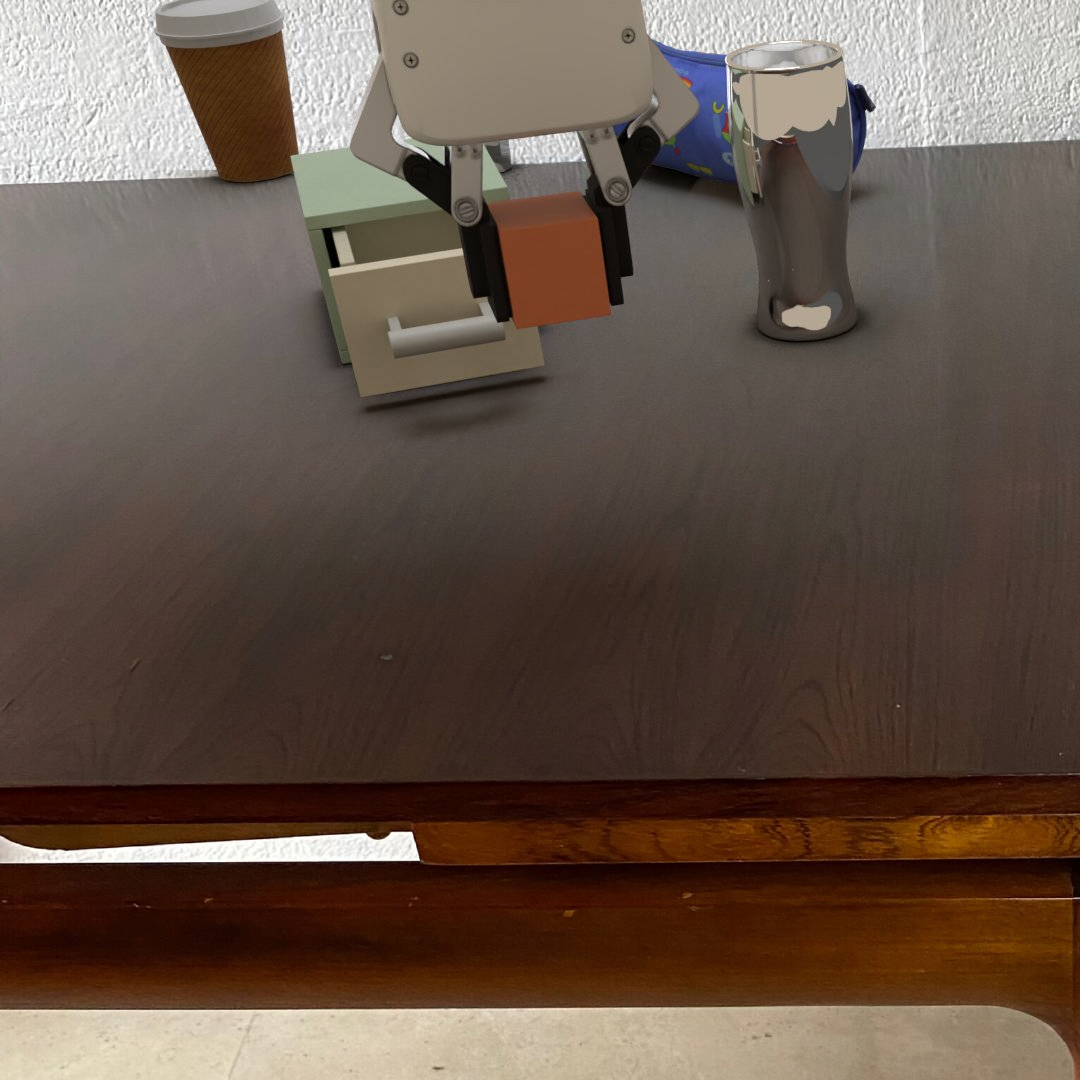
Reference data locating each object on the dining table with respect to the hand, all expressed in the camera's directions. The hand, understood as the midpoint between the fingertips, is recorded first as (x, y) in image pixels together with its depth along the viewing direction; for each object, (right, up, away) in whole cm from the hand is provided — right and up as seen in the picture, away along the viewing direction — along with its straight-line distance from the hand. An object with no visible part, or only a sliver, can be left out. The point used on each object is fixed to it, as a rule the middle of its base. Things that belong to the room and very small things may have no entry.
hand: (554, 299), depth 73 cm
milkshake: (-17, +31, +61) cm, 70 cm away
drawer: (-12, +6, +27) cm, 31 cm away
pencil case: (+2, +27, +54) cm, 61 cm away
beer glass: (+9, +9, +31) cm, 34 cm away
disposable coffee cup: (-36, +32, +64) cm, 80 cm away
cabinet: (-15, +12, +36) cm, 41 cm away
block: (0, 0, 0) cm, 0 cm away
